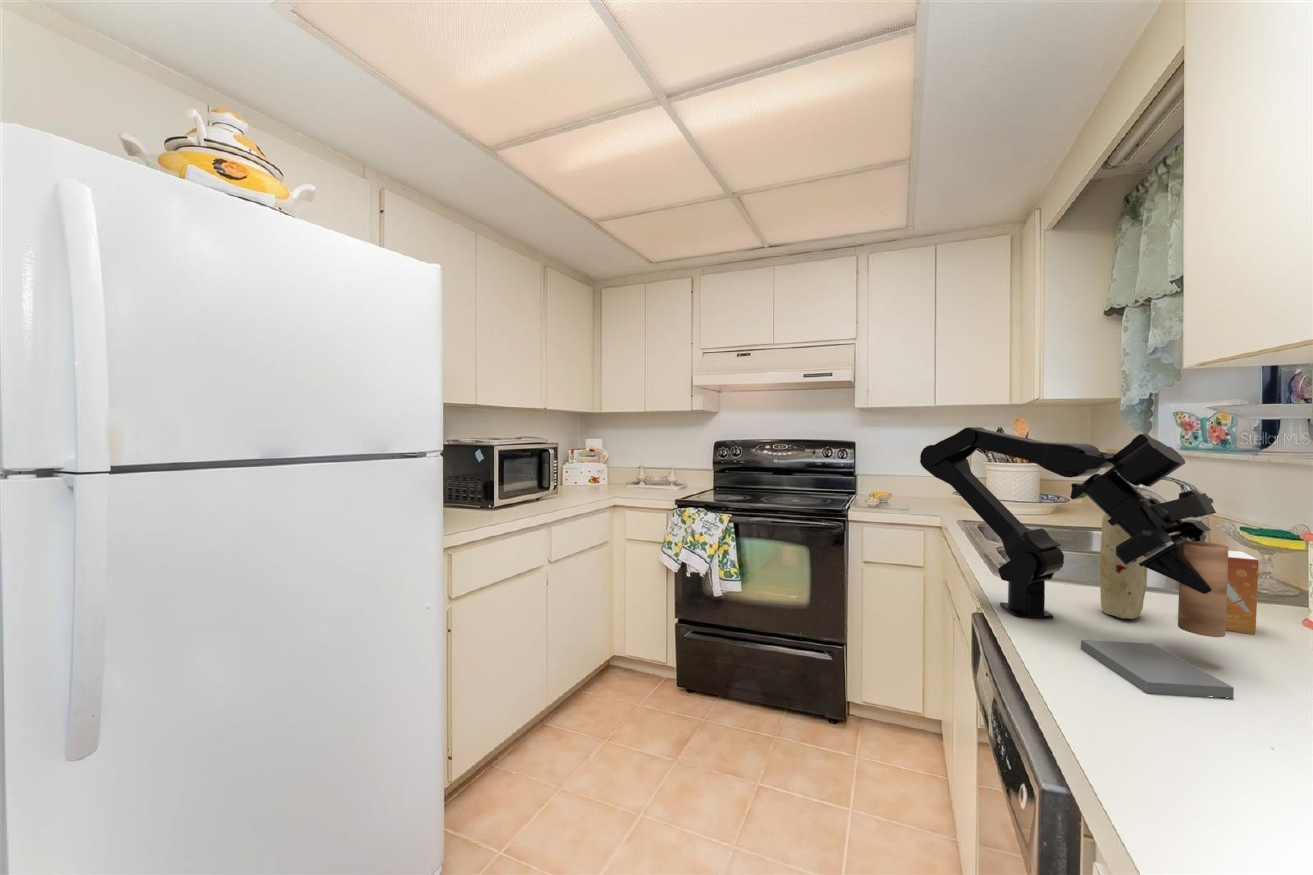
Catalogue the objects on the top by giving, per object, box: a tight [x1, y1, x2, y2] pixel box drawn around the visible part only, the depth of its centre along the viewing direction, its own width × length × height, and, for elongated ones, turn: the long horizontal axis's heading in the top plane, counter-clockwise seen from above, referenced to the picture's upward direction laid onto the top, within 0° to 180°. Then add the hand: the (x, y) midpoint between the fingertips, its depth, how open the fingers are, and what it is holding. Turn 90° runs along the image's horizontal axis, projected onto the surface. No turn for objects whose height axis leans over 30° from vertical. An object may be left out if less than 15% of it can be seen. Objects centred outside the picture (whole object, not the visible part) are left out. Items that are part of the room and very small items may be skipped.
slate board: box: [1080, 639, 1235, 699], centre depth 77 cm, size 14×10×2 cm
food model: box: [1099, 512, 1148, 620], centre depth 99 cm, size 10×7×20 cm
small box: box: [1226, 550, 1260, 635], centre depth 95 cm, size 8×6×13 cm
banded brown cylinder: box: [1177, 541, 1229, 638], centre depth 80 cm, size 5×5×13 cm
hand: (1215, 589), depth 79 cm, fingers closed on banded brown cylinder, 5 cm apart
